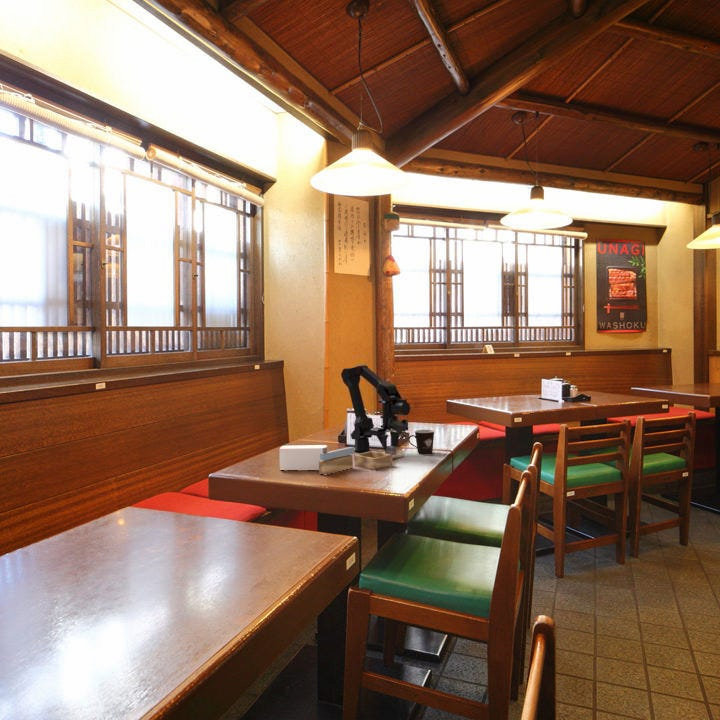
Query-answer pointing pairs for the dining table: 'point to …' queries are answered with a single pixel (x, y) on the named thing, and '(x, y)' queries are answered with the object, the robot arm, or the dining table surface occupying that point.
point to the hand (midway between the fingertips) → (389, 449)
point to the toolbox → (373, 460)
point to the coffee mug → (423, 441)
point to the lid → (392, 452)
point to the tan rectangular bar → (335, 464)
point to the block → (336, 453)
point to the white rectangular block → (300, 457)
